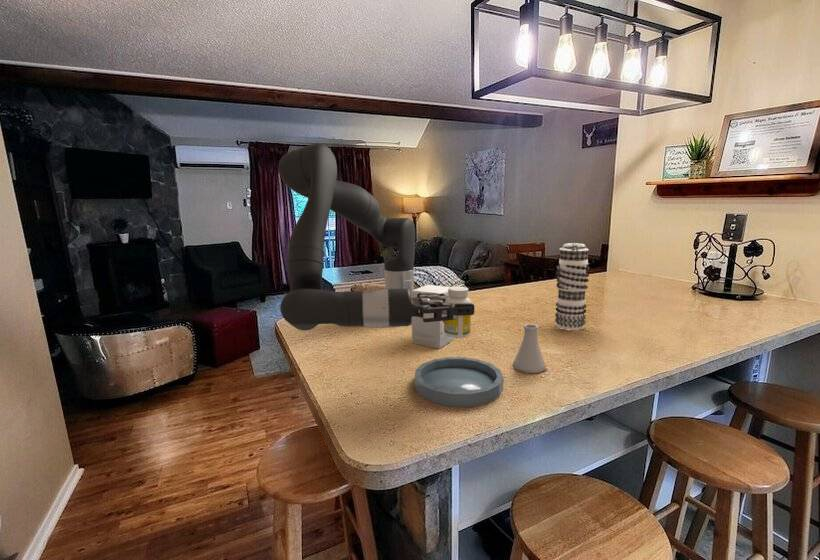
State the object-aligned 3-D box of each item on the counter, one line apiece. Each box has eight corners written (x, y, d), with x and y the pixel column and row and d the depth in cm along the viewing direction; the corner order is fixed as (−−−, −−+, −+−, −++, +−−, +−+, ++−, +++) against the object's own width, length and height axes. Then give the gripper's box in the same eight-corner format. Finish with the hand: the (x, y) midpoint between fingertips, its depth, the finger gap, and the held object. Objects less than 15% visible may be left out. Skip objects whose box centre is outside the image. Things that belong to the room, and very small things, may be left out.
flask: (552, 371, 89) (554, 329, 87) (523, 376, 87) (525, 332, 85) (534, 359, 96) (536, 320, 94) (507, 363, 94) (508, 323, 92)
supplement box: (440, 349, 104) (439, 293, 101) (411, 343, 109) (410, 290, 106) (455, 339, 112) (455, 286, 109) (428, 334, 116) (427, 284, 113)
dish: (434, 363, 95) (434, 352, 95) (510, 375, 87) (510, 364, 87) (400, 395, 79) (400, 383, 79) (489, 414, 72) (489, 401, 71)
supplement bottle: (446, 339, 78) (447, 291, 77) (441, 330, 84) (442, 286, 82) (473, 338, 79) (474, 290, 77) (467, 329, 84) (468, 285, 82)
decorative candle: (593, 327, 119) (598, 243, 115) (573, 333, 114) (578, 246, 110) (566, 320, 127) (571, 241, 122) (547, 325, 122) (551, 243, 117)
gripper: (386, 297, 71) (479, 295, 73) (385, 282, 85) (463, 280, 87) (387, 337, 73) (478, 334, 74) (386, 316, 87) (463, 313, 88)
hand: (470, 305), depth 80 cm, fingers closed on supplement bottle, 5 cm apart
